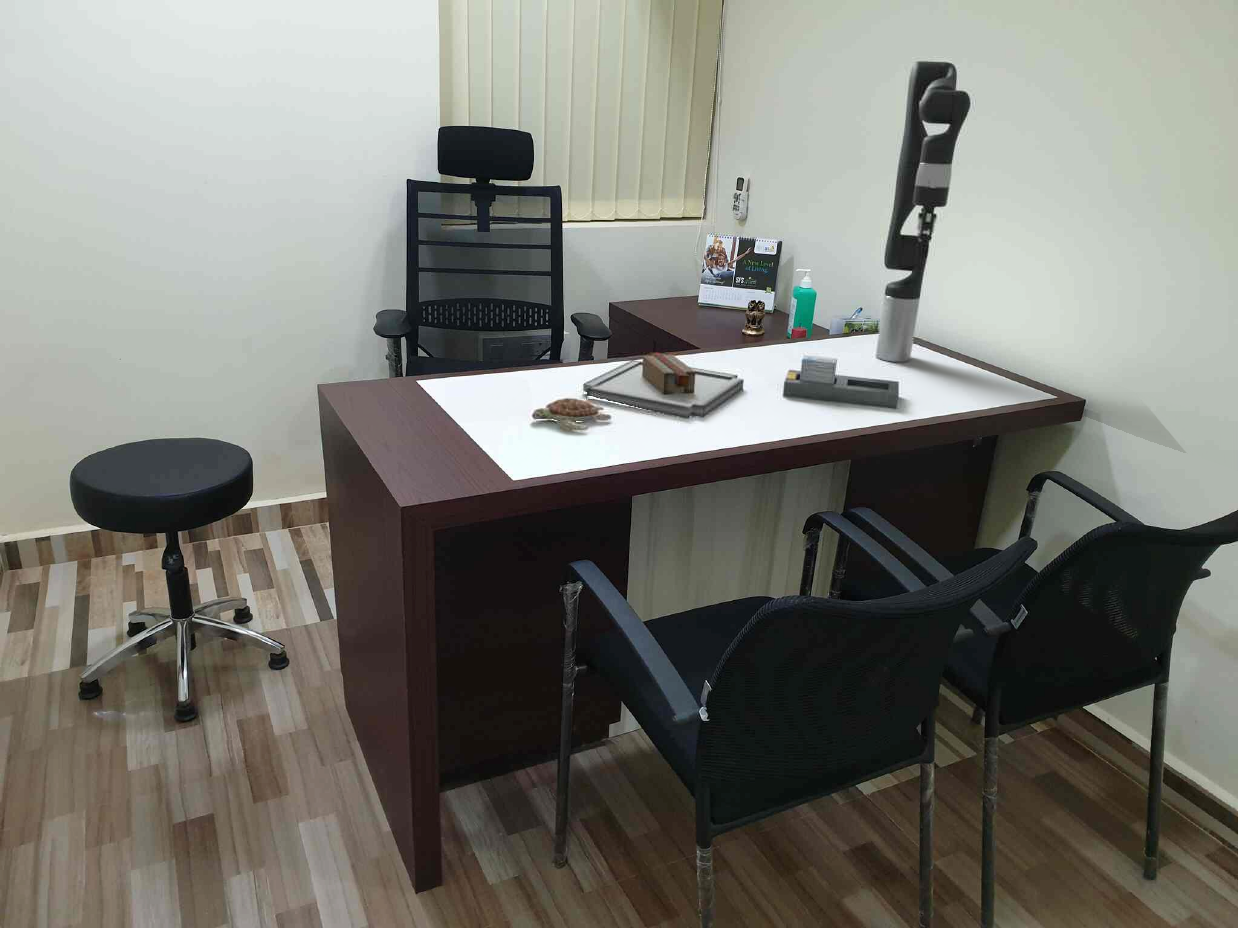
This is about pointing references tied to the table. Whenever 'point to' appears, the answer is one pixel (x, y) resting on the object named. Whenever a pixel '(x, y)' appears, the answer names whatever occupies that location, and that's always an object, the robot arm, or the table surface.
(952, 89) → the robot arm
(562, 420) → the decorative turtle
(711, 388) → the grey square tray
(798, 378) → the slotted rail
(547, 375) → the table surface
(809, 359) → the medicine box
